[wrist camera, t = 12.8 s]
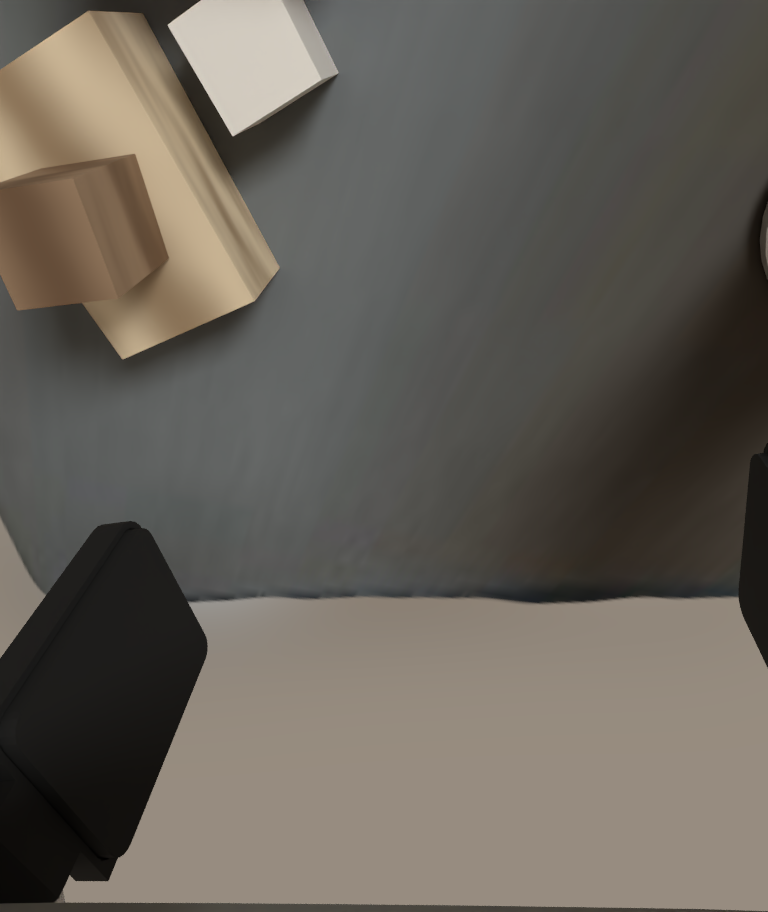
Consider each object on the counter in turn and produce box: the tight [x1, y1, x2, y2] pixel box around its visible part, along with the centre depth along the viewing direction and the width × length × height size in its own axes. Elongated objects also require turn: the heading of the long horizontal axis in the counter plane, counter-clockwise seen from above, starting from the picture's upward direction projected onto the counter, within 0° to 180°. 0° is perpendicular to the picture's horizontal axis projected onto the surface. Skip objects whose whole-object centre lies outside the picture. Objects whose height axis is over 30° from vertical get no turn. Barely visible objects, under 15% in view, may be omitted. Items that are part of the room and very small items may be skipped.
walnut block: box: [0, 154, 169, 310], centre depth 30 cm, size 5×5×6 cm
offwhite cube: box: [168, 0, 338, 136], centre depth 31 cm, size 5×5×5 cm
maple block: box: [0, 11, 280, 360], centre depth 35 cm, size 9×14×6 cm, turn 25°
